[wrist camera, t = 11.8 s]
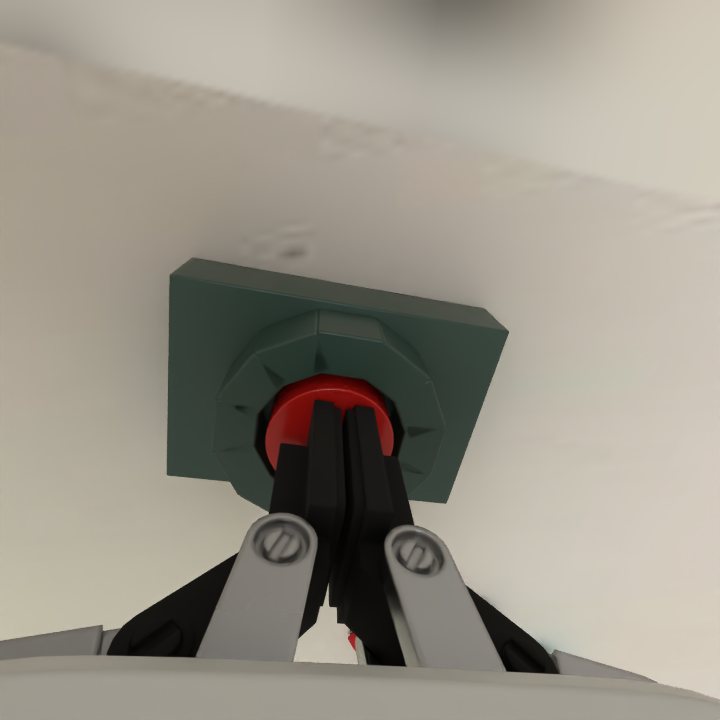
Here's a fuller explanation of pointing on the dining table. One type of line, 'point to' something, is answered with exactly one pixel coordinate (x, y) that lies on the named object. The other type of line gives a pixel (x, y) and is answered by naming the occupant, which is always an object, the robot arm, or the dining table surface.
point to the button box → (318, 370)
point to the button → (298, 400)
